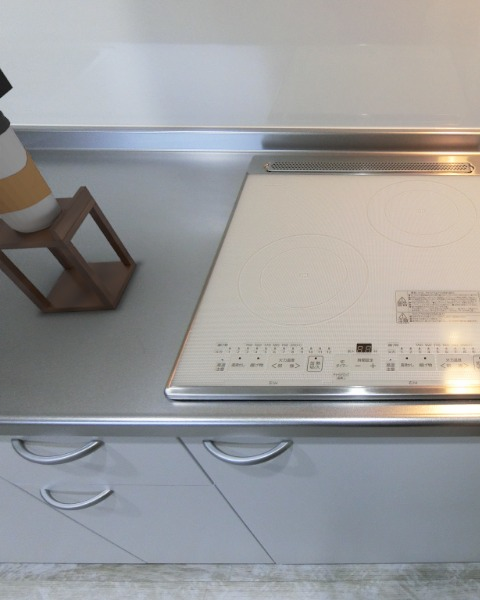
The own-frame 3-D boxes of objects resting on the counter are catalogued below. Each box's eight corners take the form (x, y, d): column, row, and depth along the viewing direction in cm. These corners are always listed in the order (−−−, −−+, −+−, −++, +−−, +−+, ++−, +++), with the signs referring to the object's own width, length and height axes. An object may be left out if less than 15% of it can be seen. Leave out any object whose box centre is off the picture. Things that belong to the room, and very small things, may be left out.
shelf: (43, 313, 68) (-34, 234, 56) (70, 268, 74) (7, 189, 62) (115, 309, 68) (54, 230, 56) (136, 264, 75) (86, 185, 63)
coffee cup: (-6, 220, 60) (-99, 114, 49) (58, 194, 64) (-15, 90, 53) (14, 247, 57) (-82, 139, 45) (80, 218, 61) (7, 112, 49)
